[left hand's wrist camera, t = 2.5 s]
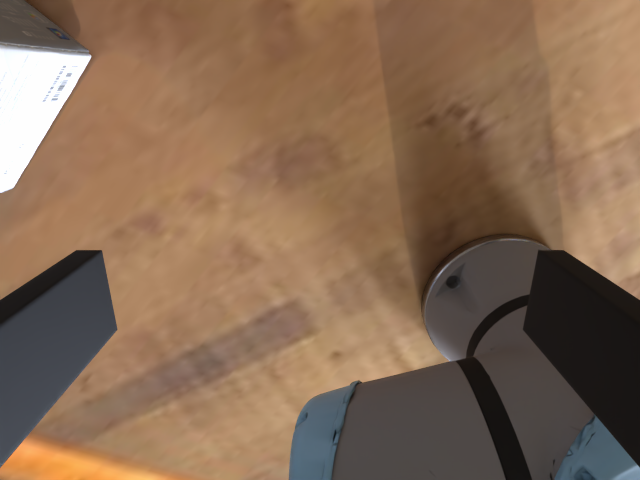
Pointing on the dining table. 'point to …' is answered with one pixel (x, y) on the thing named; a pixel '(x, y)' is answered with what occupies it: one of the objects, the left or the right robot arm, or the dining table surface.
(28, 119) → the hard drive box
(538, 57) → the dining table surface
